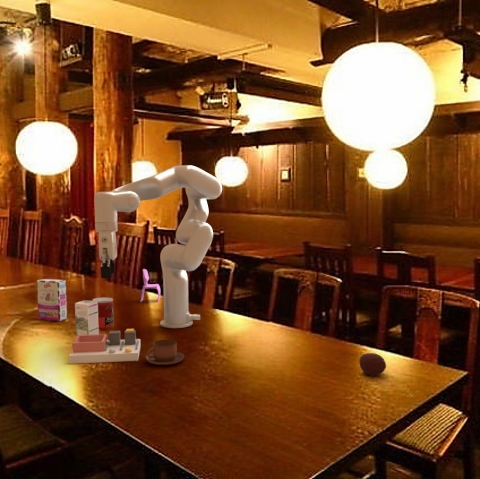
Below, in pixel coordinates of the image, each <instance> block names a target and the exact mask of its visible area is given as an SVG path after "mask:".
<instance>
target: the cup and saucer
mask: <svg viewBox="0 0 480 479" xmlns="http://www.w3.org/2000/svg"><path fill="white" fill-rule="evenodd" d="M177 344H178V343H177V341H176V340H173V339H160V340H156V341H154V342H152V347H151V348H149V349H148V350H147V352H146V356H145V360H146V361H147V362H148V363H150V364H153V365H157V366H168V365H175V364H177V363H180V362H181V361H182V360H184V358H185V353H183V352H181V351H178V348H177Z"/></svg>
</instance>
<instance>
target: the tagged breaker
mask: <svg viewBox="0 0 480 479" xmlns="http://www.w3.org/2000/svg"><path fill="white" fill-rule="evenodd" d="M136 332H137V331H136V330H135V328H126V330H124V340H125V345H130V344H135V343H136V339H137V336H136V335H137V333H136Z"/></svg>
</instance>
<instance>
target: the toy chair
mask: <svg viewBox="0 0 480 479" xmlns="http://www.w3.org/2000/svg"><path fill="white" fill-rule="evenodd" d="M142 278H143V286H142V289H141V298H140V301H139V302H140V303H142V302H143V301H144V295H145V289H155V290H157V294H158V296H157V301H156V302H157V303H159V301H160V299H161V287H160V284H159V283H155V284H154V283H152V284H150V283H148V282H149V280H150V276H149V273H148V270H147V269H145V268H143V269H142Z"/></svg>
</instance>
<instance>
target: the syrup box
mask: <svg viewBox="0 0 480 479" xmlns="http://www.w3.org/2000/svg"><path fill="white" fill-rule="evenodd" d="M74 311H75V312H74V313H75V332H76V333H75V336H76V337H77V335H98V334H100V330H99V326H98V302H95V301H92V300H81V301H78V302H75V303H74ZM76 337H75V338H76Z"/></svg>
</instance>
